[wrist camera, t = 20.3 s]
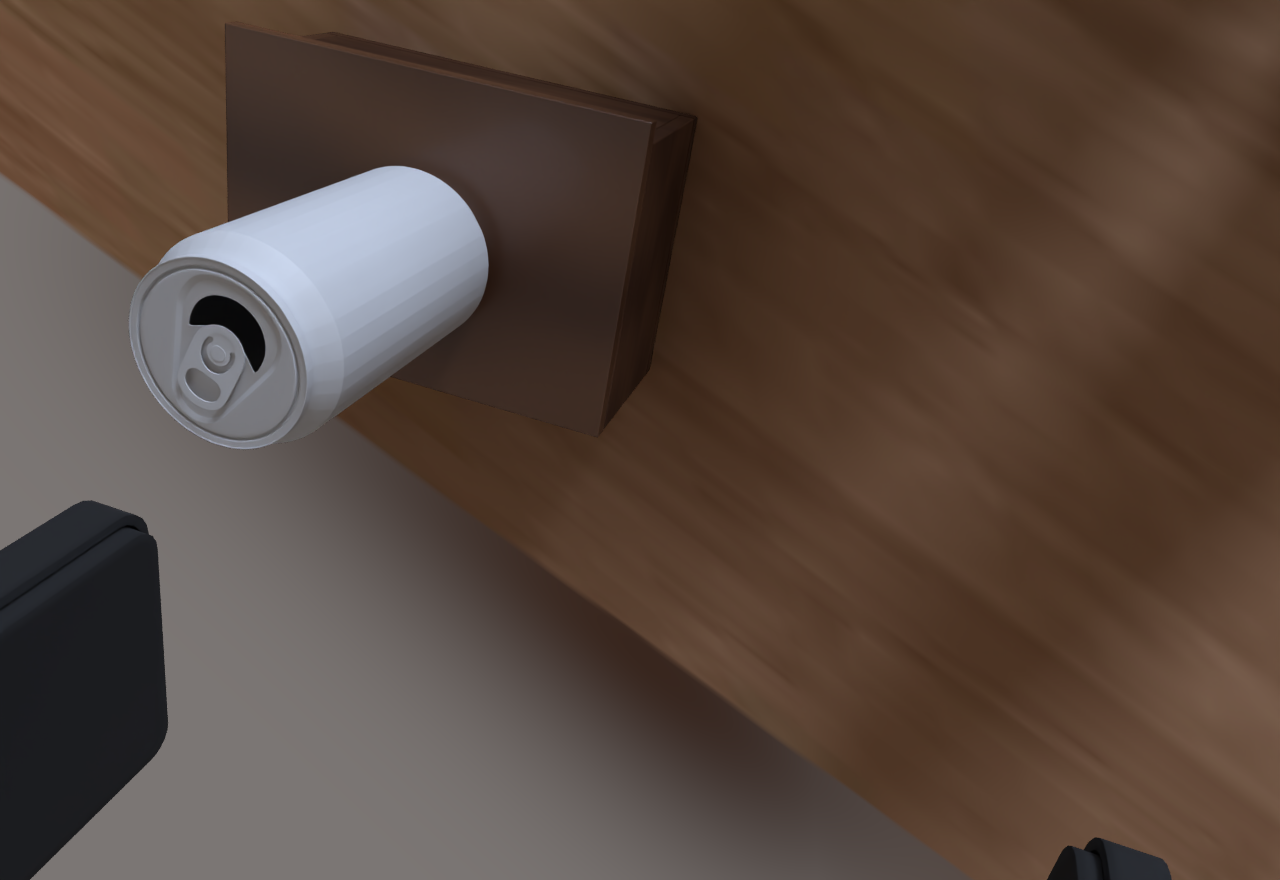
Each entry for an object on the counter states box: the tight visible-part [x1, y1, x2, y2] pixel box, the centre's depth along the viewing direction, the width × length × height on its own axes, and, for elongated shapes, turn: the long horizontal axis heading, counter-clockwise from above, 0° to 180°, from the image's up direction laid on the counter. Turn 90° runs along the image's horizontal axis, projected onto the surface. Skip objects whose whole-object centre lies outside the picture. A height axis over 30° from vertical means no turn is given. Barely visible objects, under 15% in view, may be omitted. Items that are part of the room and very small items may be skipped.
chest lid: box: [225, 22, 657, 437], centre depth 39 cm, size 12×16×1 cm
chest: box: [300, 32, 697, 429], centre depth 42 cm, size 11×16×7 cm
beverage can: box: [129, 166, 489, 450], centre depth 34 cm, size 6×6×12 cm
